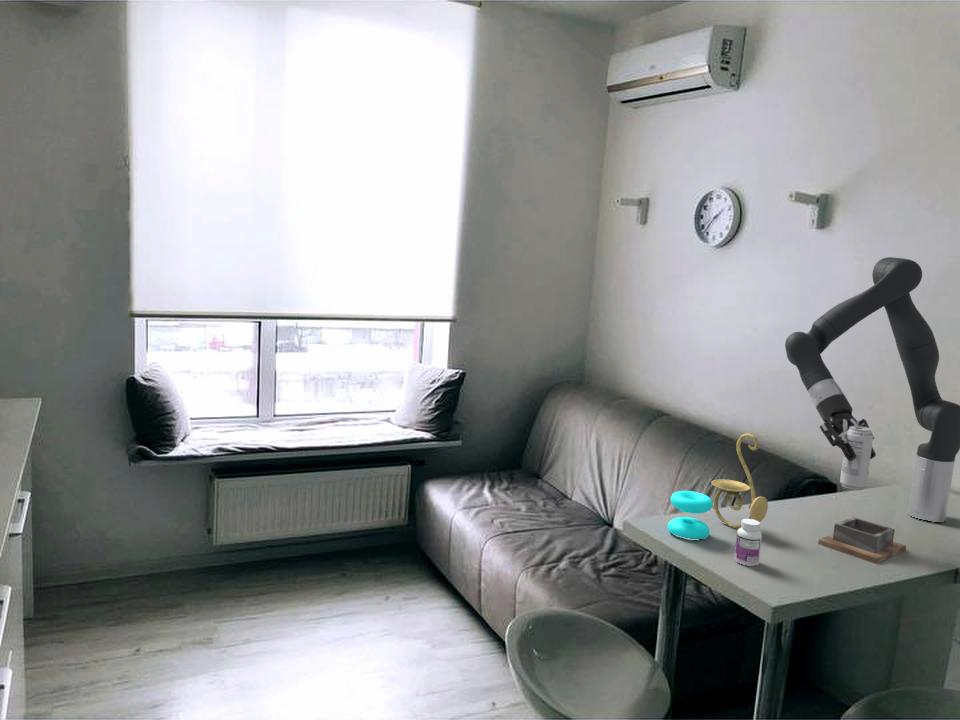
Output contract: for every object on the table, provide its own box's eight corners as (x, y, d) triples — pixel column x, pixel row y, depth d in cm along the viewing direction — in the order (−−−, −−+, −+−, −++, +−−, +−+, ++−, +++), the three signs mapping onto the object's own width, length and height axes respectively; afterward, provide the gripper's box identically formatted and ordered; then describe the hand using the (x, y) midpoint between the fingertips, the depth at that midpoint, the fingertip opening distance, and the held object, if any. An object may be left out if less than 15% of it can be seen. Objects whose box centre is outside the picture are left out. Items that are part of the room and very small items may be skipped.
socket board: (849, 532, 206) (851, 512, 205) (905, 550, 195) (908, 529, 195) (818, 543, 196) (820, 523, 195) (876, 563, 185) (879, 542, 184)
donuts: (722, 499, 193) (691, 504, 188) (717, 539, 194) (687, 544, 189) (692, 487, 202) (662, 491, 197) (688, 525, 203) (658, 530, 198)
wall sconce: (768, 533, 201) (779, 436, 197) (744, 539, 195) (756, 440, 192) (722, 516, 212) (733, 424, 208) (699, 521, 206) (709, 427, 203)
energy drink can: (871, 490, 195) (879, 430, 193) (851, 491, 193) (859, 431, 191) (853, 482, 201) (861, 424, 199) (834, 483, 199) (841, 425, 197)
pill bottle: (736, 555, 184) (741, 515, 183) (760, 561, 182) (765, 520, 180) (731, 563, 180) (736, 521, 178) (755, 569, 177) (760, 527, 176)
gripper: (818, 393, 198) (851, 452, 189) (860, 391, 203) (894, 449, 194) (799, 409, 203) (831, 468, 194) (840, 407, 209) (873, 464, 200)
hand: (862, 458), depth 194 cm, fingers closed on energy drink can, 6 cm apart
